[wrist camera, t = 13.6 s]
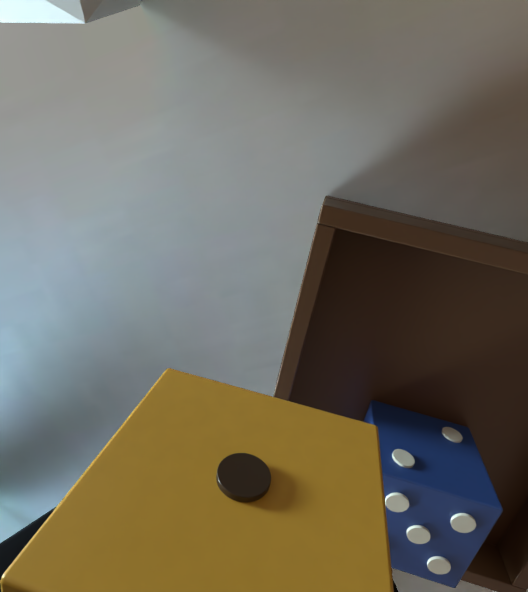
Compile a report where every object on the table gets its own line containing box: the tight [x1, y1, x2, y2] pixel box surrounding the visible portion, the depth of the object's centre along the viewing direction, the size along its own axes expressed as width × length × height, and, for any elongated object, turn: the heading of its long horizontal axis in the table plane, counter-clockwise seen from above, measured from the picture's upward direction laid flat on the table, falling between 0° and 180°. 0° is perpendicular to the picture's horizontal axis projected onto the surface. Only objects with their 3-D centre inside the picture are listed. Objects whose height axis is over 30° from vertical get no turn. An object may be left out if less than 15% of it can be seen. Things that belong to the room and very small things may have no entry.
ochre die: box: [0, 368, 394, 592], centre depth 7 cm, size 5×4×5 cm
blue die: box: [363, 400, 503, 588], centre depth 17 cm, size 5×4×5 cm
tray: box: [273, 196, 528, 592], centre depth 18 cm, size 15×13×3 cm
